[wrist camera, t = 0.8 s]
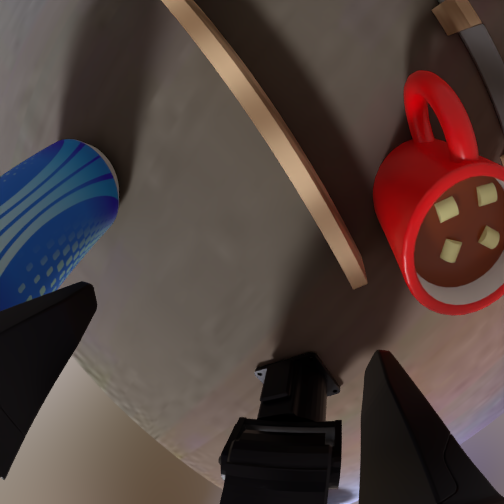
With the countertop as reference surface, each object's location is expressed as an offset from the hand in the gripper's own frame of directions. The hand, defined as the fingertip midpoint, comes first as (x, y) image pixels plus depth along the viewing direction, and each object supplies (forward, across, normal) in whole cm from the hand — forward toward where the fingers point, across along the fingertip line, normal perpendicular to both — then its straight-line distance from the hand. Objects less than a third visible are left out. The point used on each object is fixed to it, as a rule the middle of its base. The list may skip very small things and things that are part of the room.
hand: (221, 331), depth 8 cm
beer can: (+13, +15, +1) cm, 20 cm away
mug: (+13, -9, -4) cm, 17 cm away
